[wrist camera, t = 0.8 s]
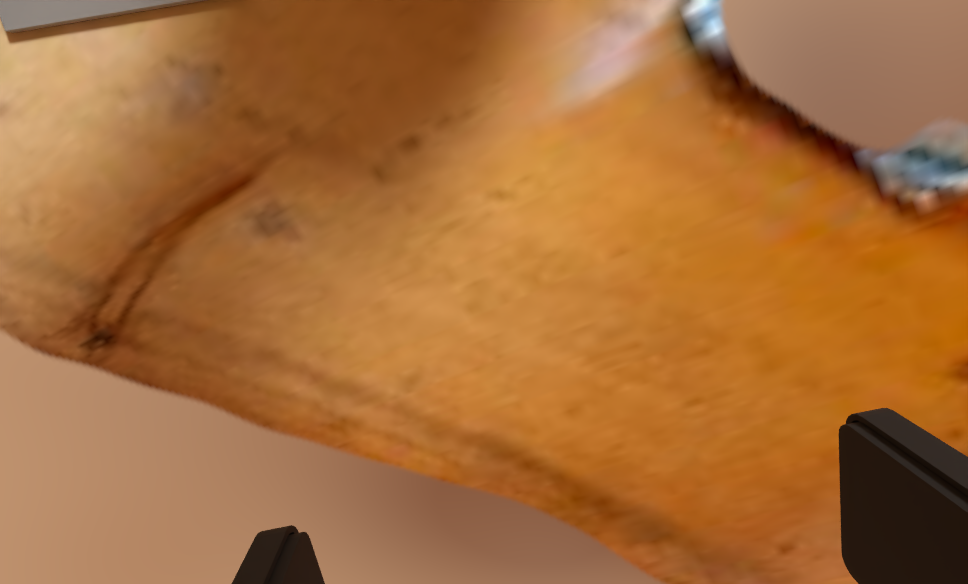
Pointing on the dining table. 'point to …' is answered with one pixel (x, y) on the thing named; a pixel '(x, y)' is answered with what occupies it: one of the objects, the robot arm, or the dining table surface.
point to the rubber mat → (70, 11)
